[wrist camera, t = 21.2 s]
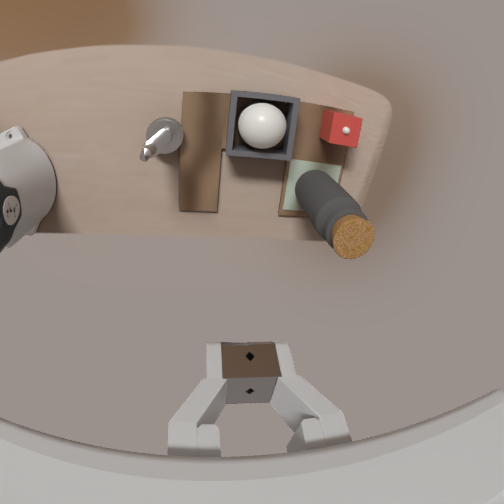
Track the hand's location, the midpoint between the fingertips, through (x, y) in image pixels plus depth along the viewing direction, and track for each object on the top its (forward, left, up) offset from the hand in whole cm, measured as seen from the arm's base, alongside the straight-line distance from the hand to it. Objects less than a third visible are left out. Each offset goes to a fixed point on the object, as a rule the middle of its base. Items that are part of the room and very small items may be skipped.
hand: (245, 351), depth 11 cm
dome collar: (+4, +4, -32) cm, 33 cm away
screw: (-8, +2, -33) cm, 34 cm away
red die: (+14, +5, -32) cm, 36 cm away
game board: (+5, -1, -33) cm, 33 cm away
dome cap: (+4, +4, -33) cm, 34 cm away
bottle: (+13, -4, -32) cm, 35 cm away
